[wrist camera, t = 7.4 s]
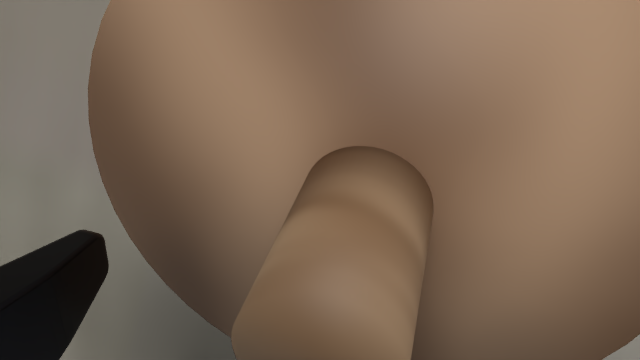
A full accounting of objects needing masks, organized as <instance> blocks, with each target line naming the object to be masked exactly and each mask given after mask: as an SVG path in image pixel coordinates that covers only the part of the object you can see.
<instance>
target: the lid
mask: <svg viewBox="0 0 640 360" xmlns="http://www.w3.org/2000/svg"><path fill="white" fill-rule="evenodd" d="M88 108H89V125H90V131H91V137H92V144H93V150H94V154H95V158H96V161H97V165H98V168H99V171H100V175H101V178H102V182H103V184H104V186H105V189H106V191H107V194H108V196H109V198H110V201H111V203H112V205H113V208H114V210H115V212H116V214H117V215H118V217H119V219H120V221H121V223H122V224H123V226H124V228H125V230H126V232H127V233H128V235H129V237H130V238H131V240H132V241H133V243H134V244H135V245H136V247H137V248H138V250H139V251H140V253H141V254H142V255H143V257H144V258H145V260H146V261H147V262H148V264H149V265H150V266H151V267H152V268H153V269H154V271H155V272H156V273H157V274H158V275H159V276H160V278H161V279H162V280H163V281H164V282H165V283H166V285H168V286H169V287H170V288H171V289H172V290H173V291H174V292H175V293H176V294H177V295H178V296H179V297H180V298H181V299H182V300H183V301H184V302H185V303H186V304H187V305H188V306H189V307H191V308H192V309H193V310H194V311H196V312H197V313H198V314H199V315H200V316H202V317H203V318H204V319H205V320H207V321H208V322H209V323H210V324H212V325H213V326H214V327H216V328H217V329H219V330H220V331H222V332H223V333H225V334H226V335H228V336H229V337H230V338H231V341H232V347H233V351H234V354H235V356H236V358H237V360H602V359H603V358H605V357H607V356H608V355H610V354H612V353H613V352H615V351H617V350H618V349H620V348H621V347H623V346H625V345H626V344H628V343H629V342H630V341H632V340H633V339H634V338H635V337H637V336H638V335H639V334H640V0H111V1H110V3H109V5H108V7H107V9H106V12H105V14H104V16H103V18H102V21H101V24H100V28H99V31H98V35H97V38H96V42H95V45H94V49H93V53H92V59H91V67H90V75H89V84H88Z"/></svg>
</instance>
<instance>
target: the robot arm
mask: <svg viewBox="0 0 640 360" xmlns="http://www.w3.org/2000/svg"><path fill="white" fill-rule="evenodd" d="M108 267H109V265H108V258H107V252H106V246H105V240H104V238H103V236H102V235H101V234H99V233H95V232H92V231H88V230H79V231H76V232H74V233H72V234H69V235H67V236H65V237H63V238H61V239H59V240H56V241H54V242H52V243H50V244H48V245H46V246H43V247H41V248H39V249H37V250H35V251H33V252H30V253H28V254H26V255H24V256H22V257H20V258H17V259H15V260H13V261H11V262H9V263H7V264H4V265H2V266H0V360H59V359H60V357H61V356H62V354H63V353H64V351H65V350H66V348H67V347H68V345H69V344H70V342H71V340H72V338H73V337H74V335H75V333H76V331H77V330H78V328H79V326H80V324H81V322H82V320H83V318H84V317H85V315H86V313H87V311H88V309H89V307H90V306H91V304H92V302H93V300H94V298H95V296H96V294H97V293H98V291H99V289H100V287H101V285H102V283H103V282H104V280H105V278H106V275H107V273H108Z"/></svg>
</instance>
